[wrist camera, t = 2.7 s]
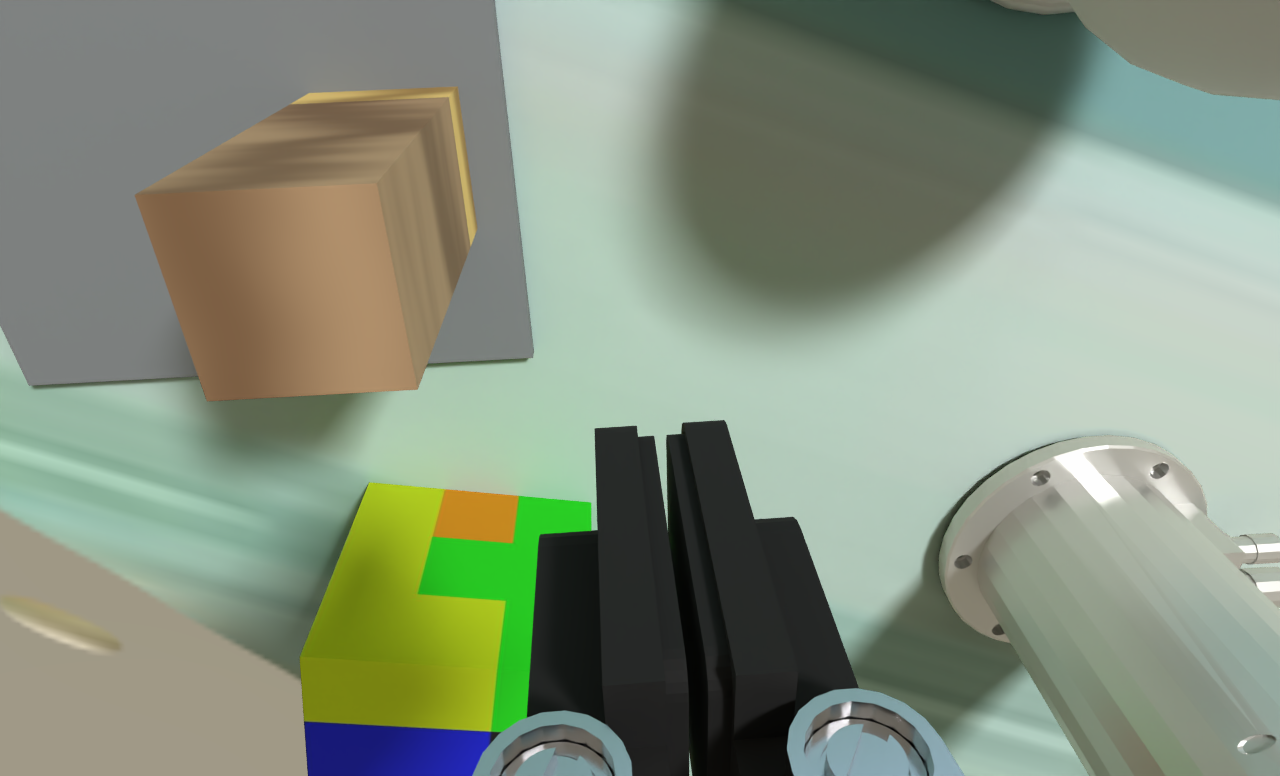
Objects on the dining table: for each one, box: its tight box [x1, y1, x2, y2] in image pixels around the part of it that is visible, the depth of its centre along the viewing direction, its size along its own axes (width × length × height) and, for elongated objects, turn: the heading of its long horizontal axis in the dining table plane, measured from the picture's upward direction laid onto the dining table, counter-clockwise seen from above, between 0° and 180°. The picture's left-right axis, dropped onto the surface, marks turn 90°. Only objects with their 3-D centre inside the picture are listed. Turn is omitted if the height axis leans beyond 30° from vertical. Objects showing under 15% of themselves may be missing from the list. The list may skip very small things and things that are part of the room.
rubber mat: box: [0, 0, 534, 386], centre depth 28 cm, size 20×16×1 cm
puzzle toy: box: [300, 482, 591, 776], centre depth 35 cm, size 10×10×10 cm
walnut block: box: [135, 86, 478, 401], centre depth 23 cm, size 5×5×12 cm
